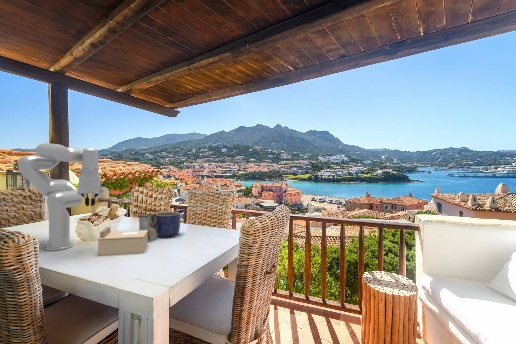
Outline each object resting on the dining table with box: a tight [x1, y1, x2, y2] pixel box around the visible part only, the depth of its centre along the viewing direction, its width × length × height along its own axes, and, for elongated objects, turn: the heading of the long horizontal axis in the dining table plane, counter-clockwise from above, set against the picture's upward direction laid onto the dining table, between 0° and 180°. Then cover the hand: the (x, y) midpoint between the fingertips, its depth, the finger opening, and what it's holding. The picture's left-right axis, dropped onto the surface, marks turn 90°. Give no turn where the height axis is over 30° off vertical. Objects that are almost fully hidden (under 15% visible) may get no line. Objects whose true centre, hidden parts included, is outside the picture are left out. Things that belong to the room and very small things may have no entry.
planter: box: [155, 211, 181, 238], centre depth 185 cm, size 17×16×15 cm
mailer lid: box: [97, 226, 148, 241], centre depth 152 cm, size 22×15×4 cm
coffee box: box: [138, 213, 157, 244], centre depth 172 cm, size 9×6×16 cm
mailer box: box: [97, 233, 148, 257], centre depth 152 cm, size 22×15×8 cm
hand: (90, 205), depth 148 cm, fingers closed
